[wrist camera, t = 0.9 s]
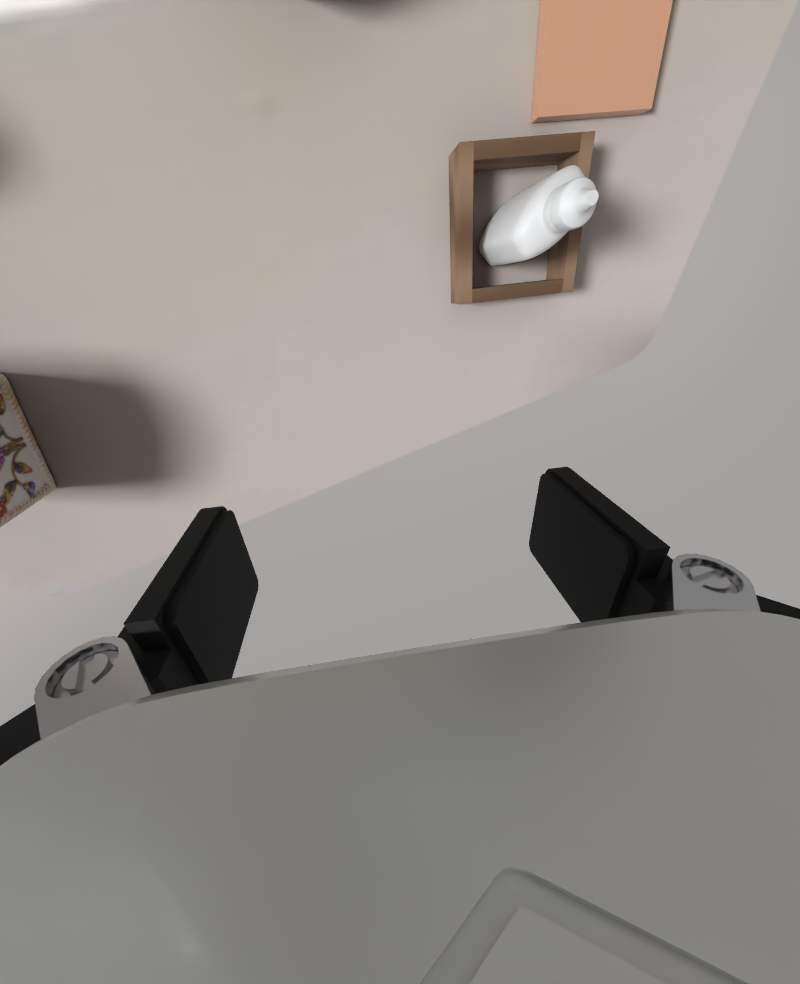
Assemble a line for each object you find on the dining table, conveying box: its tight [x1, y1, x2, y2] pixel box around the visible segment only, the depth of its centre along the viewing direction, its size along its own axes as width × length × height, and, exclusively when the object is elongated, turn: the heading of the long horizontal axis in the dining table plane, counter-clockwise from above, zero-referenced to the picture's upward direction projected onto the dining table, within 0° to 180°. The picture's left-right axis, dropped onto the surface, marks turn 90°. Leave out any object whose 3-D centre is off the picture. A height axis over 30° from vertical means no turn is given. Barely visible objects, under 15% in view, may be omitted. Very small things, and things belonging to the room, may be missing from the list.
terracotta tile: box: [532, 0, 673, 123], centre depth 24 cm, size 9×9×1 cm
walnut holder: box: [449, 131, 595, 304], centre depth 28 cm, size 10×10×3 cm
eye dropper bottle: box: [479, 165, 599, 266], centre depth 24 cm, size 4×6×12 cm
